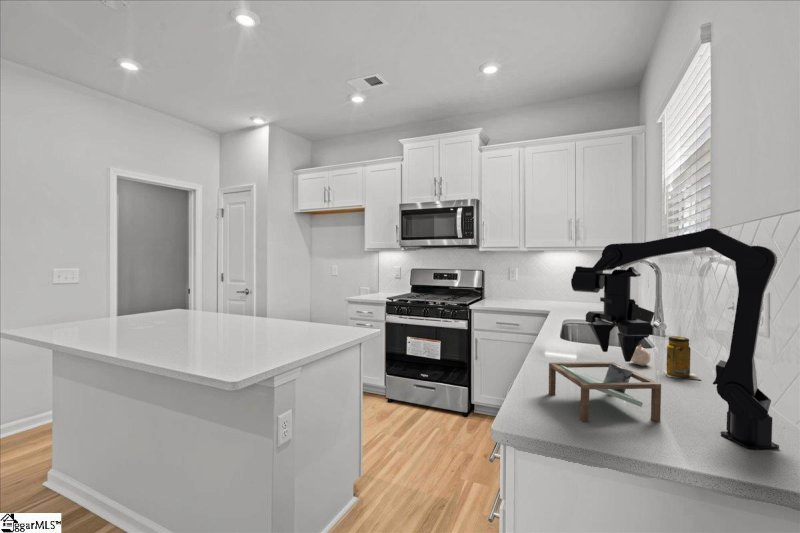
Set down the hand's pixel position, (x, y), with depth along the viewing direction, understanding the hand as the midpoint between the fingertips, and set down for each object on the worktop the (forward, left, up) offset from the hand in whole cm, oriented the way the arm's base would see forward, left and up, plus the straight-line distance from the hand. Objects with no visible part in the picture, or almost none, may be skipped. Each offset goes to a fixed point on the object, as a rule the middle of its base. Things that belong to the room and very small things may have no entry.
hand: (615, 356), depth 95 cm
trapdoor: (0, +5, -7) cm, 9 cm away
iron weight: (0, 0, -8) cm, 8 cm away
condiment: (+23, -36, -13) cm, 45 cm away
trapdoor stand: (0, +4, -12) cm, 13 cm away
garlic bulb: (+35, -31, -13) cm, 48 cm away
